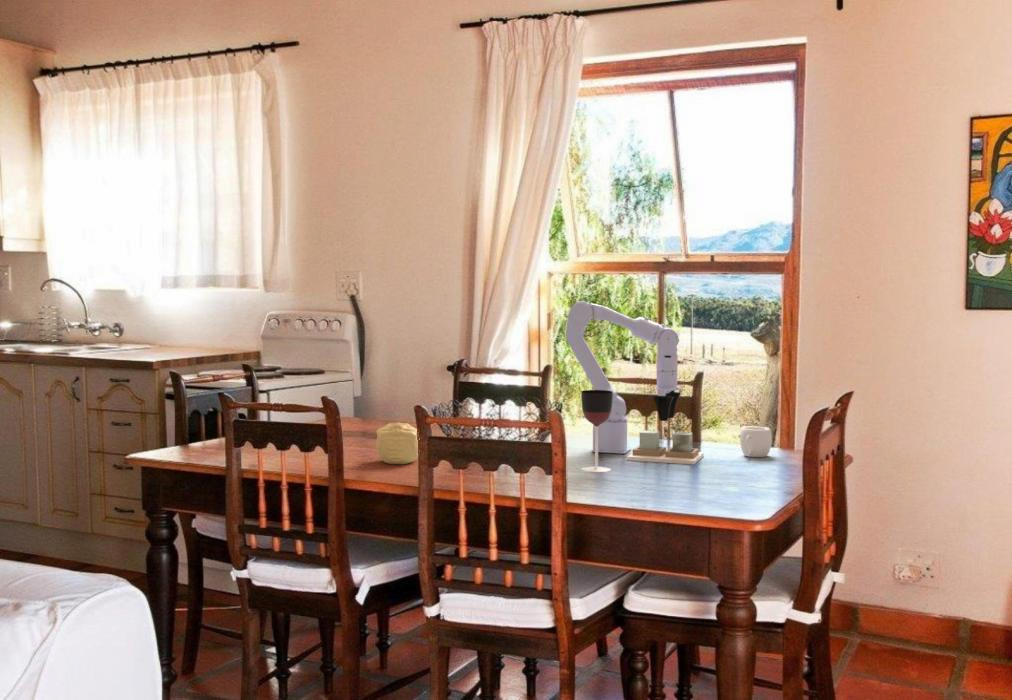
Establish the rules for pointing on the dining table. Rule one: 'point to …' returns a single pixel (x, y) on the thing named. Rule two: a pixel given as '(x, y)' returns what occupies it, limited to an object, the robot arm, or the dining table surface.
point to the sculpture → (397, 443)
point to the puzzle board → (661, 451)
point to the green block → (682, 442)
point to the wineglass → (596, 416)
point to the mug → (755, 441)
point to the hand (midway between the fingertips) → (666, 419)
